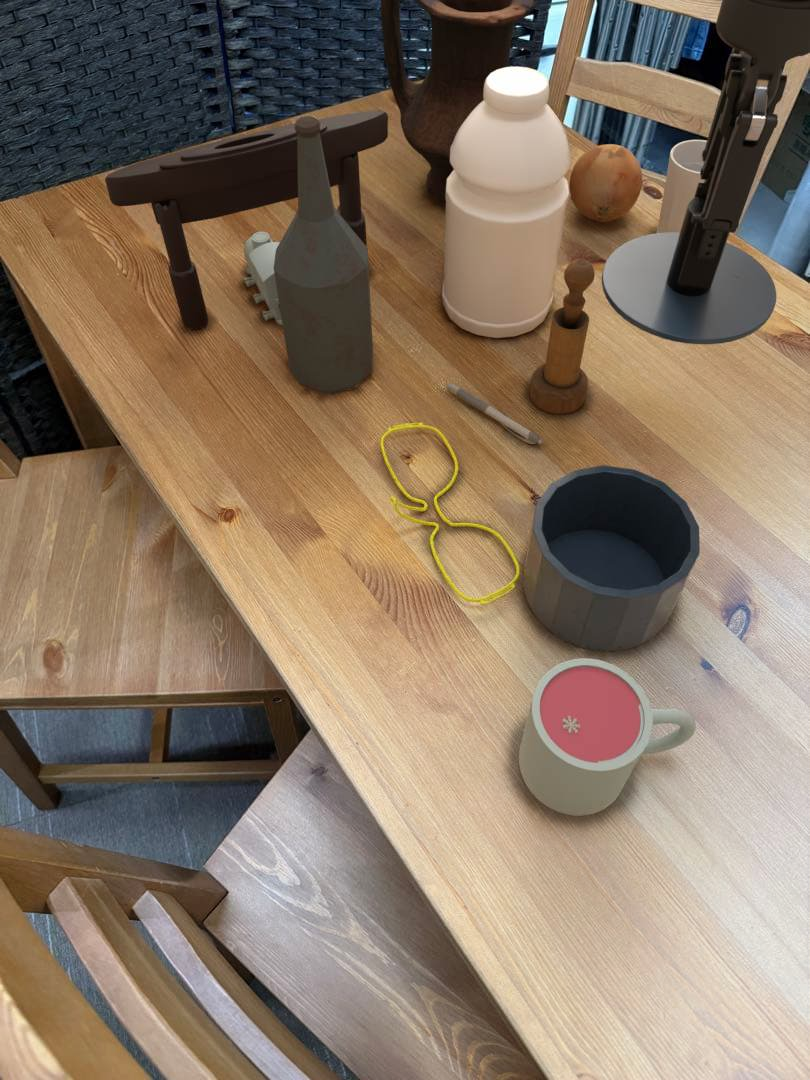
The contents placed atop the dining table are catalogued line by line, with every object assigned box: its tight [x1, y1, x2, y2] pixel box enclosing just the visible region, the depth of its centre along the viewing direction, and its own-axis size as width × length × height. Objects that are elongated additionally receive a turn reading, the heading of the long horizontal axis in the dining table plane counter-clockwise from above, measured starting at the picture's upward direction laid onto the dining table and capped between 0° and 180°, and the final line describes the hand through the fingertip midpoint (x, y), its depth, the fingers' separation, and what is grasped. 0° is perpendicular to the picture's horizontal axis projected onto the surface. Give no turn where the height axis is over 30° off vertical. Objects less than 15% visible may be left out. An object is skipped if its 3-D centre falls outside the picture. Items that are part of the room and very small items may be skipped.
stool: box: [104, 109, 389, 330], centre depth 103 cm, size 16×21×33 cm
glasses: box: [379, 422, 521, 606], centre depth 87 cm, size 25×10×5 cm, turn 22°
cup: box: [656, 139, 707, 233], centre depth 112 cm, size 8×8×12 cm
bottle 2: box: [441, 66, 572, 339], centre depth 98 cm, size 14×14×28 cm
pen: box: [445, 382, 543, 445], centre depth 97 cm, size 1×14×1 cm, turn 47°
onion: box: [568, 143, 643, 223], centre depth 117 cm, size 10×10×10 cm
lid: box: [601, 195, 777, 345], centre depth 76 cm, size 16×16×9 cm
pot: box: [522, 464, 701, 652], centre depth 80 cm, size 15×15×10 cm
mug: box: [518, 657, 697, 817], centre depth 69 cm, size 14×9×10 cm
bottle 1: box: [274, 115, 374, 395], centre depth 91 cm, size 10×10×30 cm
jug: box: [380, 0, 539, 206], centre depth 113 cm, size 21×18×30 cm
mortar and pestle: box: [529, 258, 596, 415], centre depth 92 cm, size 7×6×18 cm
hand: (694, 267), depth 77 cm, fingers closed on lid, 4 cm apart
